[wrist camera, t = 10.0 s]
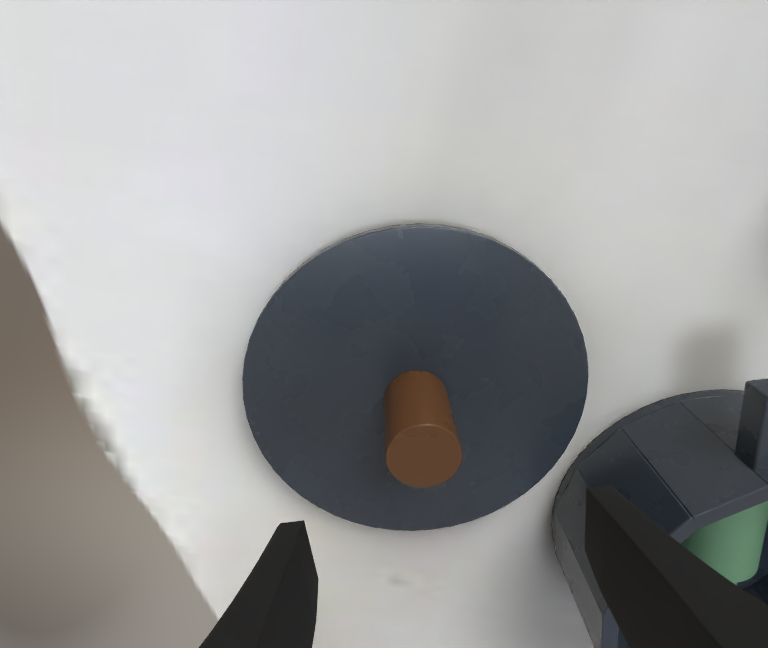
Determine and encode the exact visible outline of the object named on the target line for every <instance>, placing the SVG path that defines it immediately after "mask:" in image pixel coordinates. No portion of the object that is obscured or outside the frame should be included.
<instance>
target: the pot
mask: <svg viewBox="0 0 768 648" xmlns="http://www.w3.org/2000/svg"><path fill="white" fill-rule="evenodd" d="M610 485H611V486H612V487H613V488H614V489H616V490H617V491H618V492H619V493H620V494H622V495H623V496H624V497H625V498H626V499H627V500H628V501H630V502H631V503H632V504H633V505H634V506H635V507H637V508H638V509H639V510H640V511H641V512H642V513H644V514H645V515H646V516H647V517H648V518H650V519H651V520H652V521H653V522H654V523H655V524H657V525H658V526H659V527H660V528H662V529H663V530H664V531H665V532H666V533H668V534H669V535H670V536H671V537H673V538H674V539H675V540H676V541H678V542H679V543H680V544H681V543H682V542H683V541H685V540H686V539H687V538H688V537H690V536H691V535H692V534H694V533H695V532H696V531H697V530H699V529H700V528H702V527H704V526H707V525H709V524H712V523H714V522H716V521H719V520H721V519H724V518H726V517H729V516H731V515H734V514H736V513H739V512H741V511H743V510H746V509H748V508H751V507H753V506H756V505H758V504H761V503H763V502H766V501H768V379H761V380H752V381H747V382H746V383H745V390H744V391H741V390H707V391H698V392H693V393H687V394H681V395H678V396H674V397H671V398H667V399H664V400H661V401H658V402H656V403H653V404H651V405H648V406H646V407H643V408H641V409H640V410H638V411H636V412H634V413H632V414H630V415H628V416H626V417H624V418H623V419H621V420H620V421H618V422H617V423H615V424H614V425H612V426H611V427H609V428H608V429H607V430H605V431H604V432H603V433H602V434H601V435H599V436H598V437H597V438H596V439H595V440H593V441H592V443H591V444H590V445H589V446H588V447H587V448H586V449H585V450H584V451H583V452H582V453H581V454H580V455H579V457H578V458H577V459H576V461H575V462H574V463H573V465H572V466H571V467H570V469H569V471H568V472H567V474H566V476H565V477H564V479H563V481H562V483H561V486H560V488H559V491H558V493H557V495H556V499H555V503H554V508H553V515H552V533H553V540H554V543H555V547H556V556H557V558H558V560H559V563H560V565H561V568H562V570H563V572H564V575H565V577H566V580H567V582H568V584H569V587H570V589H571V592H572V594H573V596H574V599H575V601H576V604H577V606H578V609H579V611H580V613H581V616H582V618H583V621H584V623H585V625H586V628H587V630H588V633H589V635H590V637H591V640H592V642H593V645H594V647H595V648H629V646H628V644H627V642H626V640H625V638H624V636H623V634H622V632H621V630H620V628H619V627H618V625H617V623H616V621H615V619H614V617H613V615H612V613H611V611H610V609H609V607H608V605H607V603H606V601H605V599H604V597H603V595H602V593H601V591H600V589H599V586H598V584H597V581H596V579H595V576H594V574H593V571H592V568H591V566H590V563H589V560H588V558H587V555H586V552H585V550H584V547H585V511H586V488H592V487H601V486H610ZM737 586H738V587H740V588H741V589H743V590H744V591H746V592H747V593H749V594H750V595H752V596H753V597H755V598H757V599H758V600H760V601H761V602H763V603H764V604H766V605H767V606H768V521H767V526H766V531H765V536H764V541H763V546H762V551H761V556H760V561H759V566H758V570H757V572H756V574H755V575H754V576H753V577H751V578H750V579H748V580H746V581H743V582H737Z"/></svg>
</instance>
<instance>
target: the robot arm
mask: <svg viewBox="0 0 768 648" xmlns="http://www.w3.org/2000/svg"><path fill="white" fill-rule="evenodd" d="M584 550H585V552H586V555H587V558H588V560H589V563H590V566H591V568H592V571H593V574H594V576H595V579H596V581H597V584H598V586H599V589H600V591H601V593H602V595H603V597H604V599H605V601H606V603H607V605H608V607H609V609H610V611H611V613H612V615H613V617H614V619H615V621H616V623H617V625H618V627H619V628H620V630H621V632H622V634H623V636H624V638H625V640H626V642H627V644H628V646H629V648H768V606H767V605H766V604H764V603H763V602H761V601H760V600H758V599H757V598H755V597H753V596H752V595H750V594H749V593H747V592H746V591H744V590H743V589H741V588H740V587H738V586H737V585H735V584H734V583H732V582H731V581H729V580H728V579H727V578H725V577H724V576H722V575H721V574H720V573H718V572H717V571H716V570H714V569H713V568H711V567H710V566H709V565H707V564H706V563H705V562H703V561H702V560H701V559H699V558H698V557H697V556H695V555H694V554H693V553H691V552H690V551H689V550H688V549H686V548H685V547H684V546H683V545H681V544H680V543H679V542H678V541H676V540H675V539H674V538H673V537H671V536H670V535H669V534H668V533H666V532H665V531H664V530H663V529H662V528H660V527H659V526H658V525H657V524H655V523H654V522H653V521H652V520H651V519H650V518H648V517H647V516H646V515H645V514H644V513H642V512H641V511H640V510H639V509H638V508H637V507H635V506H634V505H633V504H632V503H631V502H630V501H628V500H627V499H626V498H625V497H624V496H623V495H622V494H620V493H619V492H618V491H617V490H616V489H614V488H613V487H612V486H611V485H610V486H601V487H592V488H586V511H585V547H584ZM317 596H318V576H317V572H316V567H315V563H314V559H313V555H312V551H311V547H310V543H309V539H308V535H307V531H306V527H305V523H304V521H296V522H288V523H281V524H280V525H279V526H278V527H277V529H276V530H275V532H274V534H273V536H272V538H271V539H270V541H269V543H268V545H267V546H266V548H265V550H264V551H263V553H262V555H261V557H260V558H259V560H258V562H257V563H256V565H255V567H254V568H253V570H252V572H251V573H250V575H249V576H248V578H247V579H246V581H245V583H244V584H243V586H242V587H241V589H240V590H239V592H238V594H237V595H236V597H235V598H234V600H233V601H232V603H231V604H230V605H229V607H228V608H227V610H226V611H225V613H224V614H223V615H222V617H221V618H220V620H219V621H218V623H217V624H216V625H215V627H214V628H213V630H212V631H211V632H210V634H209V635H208V636H207V638H206V639H205V640H204V642H203V643H202V644H201V646H200V647H199V648H312V644H313V638H314V631H315V625H316V614H317Z"/></svg>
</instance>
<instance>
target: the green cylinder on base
mask: <svg viewBox="0 0 768 648" xmlns="http://www.w3.org/2000/svg"><path fill="white" fill-rule="evenodd" d="M767 521H768V501H766V502H763V503H761V504H758V505H756V506H753V507H751V508H748V509H746V510H743V511H741V512H739V513H736V514H734V515H731V516H729V517H726V518H724V519H721V520H719V521H716V522H714V523H712V524H709V525H707V526H704V527H702V528H700V529H699V530H697V531H696V532H695V533H694V534H692V535H691V536H690V537H688V538H687V539H686V540H685V541H683V542H682V543H681V545H683V546H684V547H685V548H686V549H688V550H689V551H690V552H691V553H693V554H694V555H695V556H697V557H698V558H699V559H701V560H702V561H703V562H705V563H706V564H707V565H709V566H710V567H711V568H713V569H714V570H716V571H717V572H718V573H720V574H721V575H722V576H724V577H725V578H727V579H728V580H729V581H731V582H732V583H734V584H735V585H737V582H743V581H746V580H748V579H750V578H751V577H753V576H754V575H755V574H756V572H757V570H758V566H759V561H760V556H761V551H762V546H763V541H764V536H765V531H766V526H767Z"/></svg>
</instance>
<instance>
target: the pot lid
mask: <svg viewBox="0 0 768 648" xmlns="http://www.w3.org/2000/svg"><path fill="white" fill-rule="evenodd" d="M242 381H243V400H244V405H245V410H246V415H247V419H248V422H249V425H250V428H251V431H252V433H253V436H254V438H255V440H256V442H257V444H258V446H259V448H260V450H261V452H262V454H263V455H264V457H265V458H266V459H267V461H268V462H269V464H270V465H271V466H272V468H273V469H274V470H275V472H276V473H277V474H278V475H279V476H280V477H281V478H282V479H283V480H284V481H285V482H286V483H287V484H288V485H289V486H290V487H291V488H292V489H294V490H295V491H296V492H297V493H298V494H300V495H301V496H302V497H304V498H305V499H307V500H308V501H310V502H311V503H313V504H314V505H316V506H317V507H319V508H321V509H323V510H325V511H327V512H329V513H331V514H333V515H335V516H338V517H341V518H343V519H346V520H349V521H351V522H354V523H358V524H362V525H366V526H370V527H376V528H383V529H390V530H408V531H415V530H431V529H438V528H444V527H450V526H454V525H458V524H462V523H465V522H469V521H472V520H475V519H477V518H480V517H483V516H485V515H488V514H490V513H492V512H494V511H496V510H498V509H500V508H502V507H504V506H506V505H508V504H509V503H511V502H512V501H514V500H515V499H517V498H518V497H520V496H521V495H523V494H524V493H526V492H527V491H528V490H529V489H530V488H532V487H533V486H534V485H535V484H536V483H538V482H539V481H540V480H541V479H542V478H543V477H544V476H545V475H546V474H547V472H548V471H549V470H550V469H551V468H552V467H553V466H554V465H555V463H556V462H557V461H558V459H559V458H560V457H561V455H562V454H563V453H564V451H565V450H566V448H567V446H568V444H569V442H570V441H571V439H572V437H573V435H574V433H575V431H576V428H577V426H578V423H579V421H580V418H581V416H582V412H583V408H584V404H585V400H586V394H587V384H588V363H587V353H586V348H585V343H584V339H583V335H582V332H581V329H580V327H579V324H578V321H577V319H576V316H575V314H574V313H573V311H572V309H571V307H570V306H569V304H568V302H567V300H566V298H565V297H564V296H563V294H562V293H561V292H560V291H559V289H558V288H557V287H556V286H555V284H554V283H553V282H552V280H551V279H549V278H548V277H547V276H546V275H545V274H544V273H543V272H542V271H541V270H540V269H539V268H538V267H537V266H536V265H535V264H534V263H532V262H531V261H530V260H528V259H527V258H525V257H524V256H523V255H521V254H520V253H518V252H517V251H515V250H514V249H513V248H511V247H509V246H507V245H505V244H503V243H501V242H499V241H497V240H495V239H493V238H491V237H488V236H485V235H482V234H479V233H476V232H473V231H470V230H466V229H461V228H456V227H451V226H446V225H434V224H406V225H393V226H388V227H383V228H378V229H373V230H369V231H366V232H363V233H360V234H357V235H354V236H351V237H348V238H346V239H344V240H342V241H340V242H338V243H336V244H334V245H332V246H330V247H328V248H326V249H324V250H322V251H321V252H319V253H318V254H316V255H315V256H313V257H312V258H310V259H309V260H307V261H306V262H305V263H303V264H302V265H301V266H300V267H299V268H298V269H297V270H296V271H294V272H293V273H292V274H291V275H290V276H289V277H288V278H287V279H286V280H285V281H284V282H283V284H282V285H281V286H280V287H279V288H278V290H277V291H276V292H275V293H274V294H273V296H272V297H271V299H270V300H269V302H268V304H267V305H266V307H265V308H264V310H263V312H262V313H261V315H260V317H259V318H258V321H257V323H256V325H255V328H254V330H253V332H252V335H251V337H250V340H249V344H248V347H247V351H246V355H245V359H244V369H243V378H242Z"/></svg>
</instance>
